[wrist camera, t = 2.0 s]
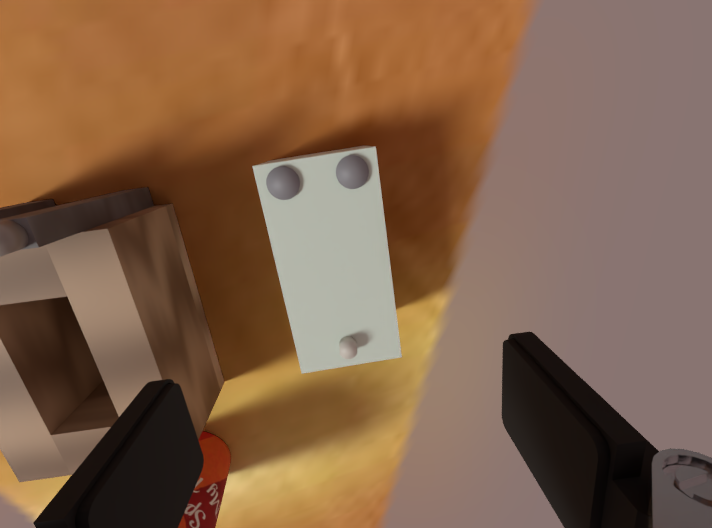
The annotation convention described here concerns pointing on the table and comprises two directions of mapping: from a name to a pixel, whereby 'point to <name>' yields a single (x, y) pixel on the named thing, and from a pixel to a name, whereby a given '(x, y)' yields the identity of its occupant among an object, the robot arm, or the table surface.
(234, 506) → the table surface
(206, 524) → the paper cup
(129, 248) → the brown boxy piece
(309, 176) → the white block with knobs
